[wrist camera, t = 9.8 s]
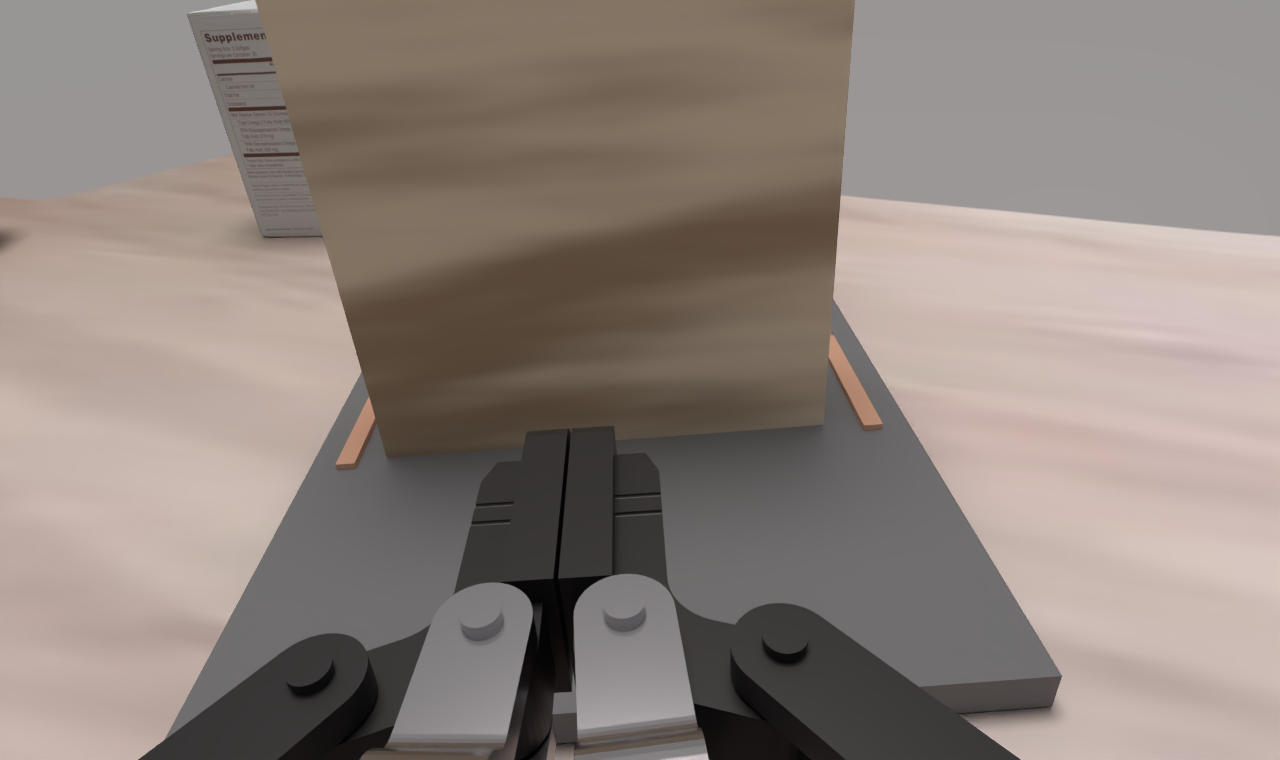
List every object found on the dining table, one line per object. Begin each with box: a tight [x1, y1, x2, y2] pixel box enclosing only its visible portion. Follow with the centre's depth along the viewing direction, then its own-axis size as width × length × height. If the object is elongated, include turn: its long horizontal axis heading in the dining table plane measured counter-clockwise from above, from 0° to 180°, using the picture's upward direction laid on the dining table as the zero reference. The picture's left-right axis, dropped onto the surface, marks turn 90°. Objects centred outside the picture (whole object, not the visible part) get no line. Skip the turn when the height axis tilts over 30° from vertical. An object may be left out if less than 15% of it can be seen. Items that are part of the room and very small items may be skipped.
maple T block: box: [255, 0, 855, 458], centre depth 26 cm, size 12×14×14 cm
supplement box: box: [187, 0, 323, 237], centre depth 46 cm, size 7×7×13 cm
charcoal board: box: [165, 300, 1062, 744], centre depth 27 cm, size 24×19×1 cm
